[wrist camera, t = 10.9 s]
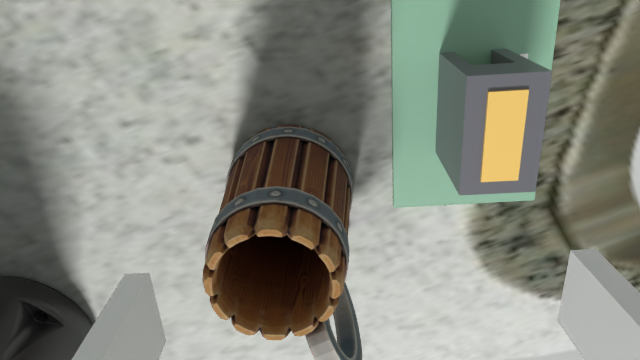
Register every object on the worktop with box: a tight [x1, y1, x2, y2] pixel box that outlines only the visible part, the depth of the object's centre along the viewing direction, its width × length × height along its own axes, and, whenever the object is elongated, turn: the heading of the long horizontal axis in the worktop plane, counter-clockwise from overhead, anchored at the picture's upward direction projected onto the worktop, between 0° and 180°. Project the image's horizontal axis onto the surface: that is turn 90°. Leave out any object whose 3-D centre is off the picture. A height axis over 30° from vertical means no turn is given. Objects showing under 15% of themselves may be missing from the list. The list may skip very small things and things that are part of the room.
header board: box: [391, 0, 560, 208], centre depth 36 cm, size 12×18×5 cm, turn 4°
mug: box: [203, 125, 362, 360], centre depth 35 cm, size 16×11×15 cm
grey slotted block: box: [435, 49, 552, 195], centre depth 33 cm, size 5×8×8 cm, turn 4°
